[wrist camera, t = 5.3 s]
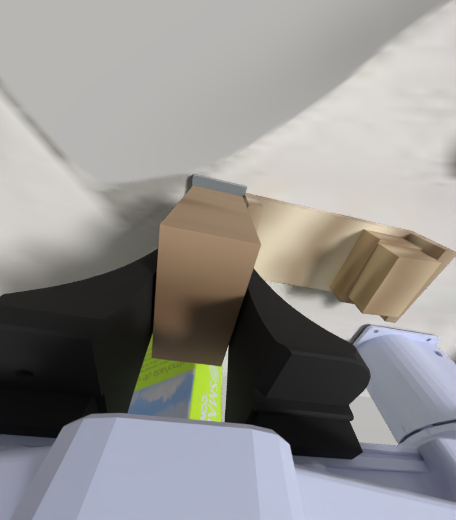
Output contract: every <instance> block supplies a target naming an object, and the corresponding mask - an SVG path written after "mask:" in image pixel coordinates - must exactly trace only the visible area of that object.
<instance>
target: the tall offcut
mask: <svg viewBox="0 0 456 520" xmlns="http://www.w3.org/2000/svg"><path fill="white" fill-rule="evenodd" d="M260 247H261V242H260V240H259V237H258V235H257V232H256V230H255V227H254V224H253V222H252V219H251V217H250V214H249V211H248V209H247V206H246V204H245V201H244V199H243V197H242V196H238V195H234V194H229V193H225V192H220V191H216V190H211V189H207V188H203V187H198V186H194V185H193V186H192V187H191V189H190V190H189V191H188V192H187V193H186V194H185V196H184V197H183V198H182V199H181V200H180V201H179V203H178V204H177V205H176V206H175V207H174V208H173V210H172V211H171V212H170V213H169V214H168V215H167V217H166V218H165V219H164V220H163V221H162V222H161V223H160V228H159V244H158V261H157V277H156V293H155V310H154V326H153V343H152V358H155V359H164V360H172V361H180V362H188V363H196V364H205V365H213V366H222V363H223V360H224V357H225V354H226V351H227V348H228V345H229V341H230V338H231V335H232V332H233V329H234V326H235V323H236V320H237V317H238V314H239V311H240V308H241V305H242V302H243V299H244V296H245V293H246V290H247V287H248V284H249V281H250V278H251V275H252V272H253V269H254V265H255V262H256V259H257V256H258V253H259V250H260Z"/></svg>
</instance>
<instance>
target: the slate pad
mask: <svg viewBox="0 0 456 520" xmlns="http://www.w3.org/2000/svg"><path fill="white" fill-rule="evenodd" d="M193 185H194V186H198V187H203V188H207V189H211V190H216V191H220V192H225V193H229V194H234V195H238V196H242V197H243V199H244V197H245V193H246V189H247V187H246V186H243V185H239V184H235V183H231V182H226V181H222V180H218V179H213V178H209V177H205V176H201V175H196V174H194V175H193V180H192V186H193Z"/></svg>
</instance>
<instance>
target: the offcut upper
mask: <svg viewBox="0 0 456 520" xmlns="http://www.w3.org/2000/svg"><path fill="white" fill-rule="evenodd" d="M440 264H441V262H439V261H437V260H436V259H434V258H432V257H430V256H428V255H427V254H425V253H423V252H421V251H419V250H418V249H414V248H407V247H400V246H393V245H386V244H378V246H377V248H376V249H375V251H374V253H373V254H372V256H371V258H370V260H369V261H368V263H367V265H366V266H365V268H364V270H363V272H362V273H361V275H360V277H359V279H358V280H357V282H356V284H355V285H354V287H353V289H352V291H351V292H350V294H349V298H350V299H351V300H352V301H353V303H354V304H355V305H356V307H357V308H358V309H359V310H360V312H361V313H363V314H372V315H382V316H391V317H399V315H400V314H401V313H402V312H403V310H404V309H405V308H406V307H407V305H408V304H409V303H410V302H411V300H412V299H413V298H414V297H415V295H416V294H417V293H418V292H419V290H420V289H421V288H422V287H423V285H424V284H425V283H426V282H427V280H428V279H429V278H430V277H431V275H432V274H433V273H434V272H435V270H436V269H437V268H438V266H439V265H440Z"/></svg>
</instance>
